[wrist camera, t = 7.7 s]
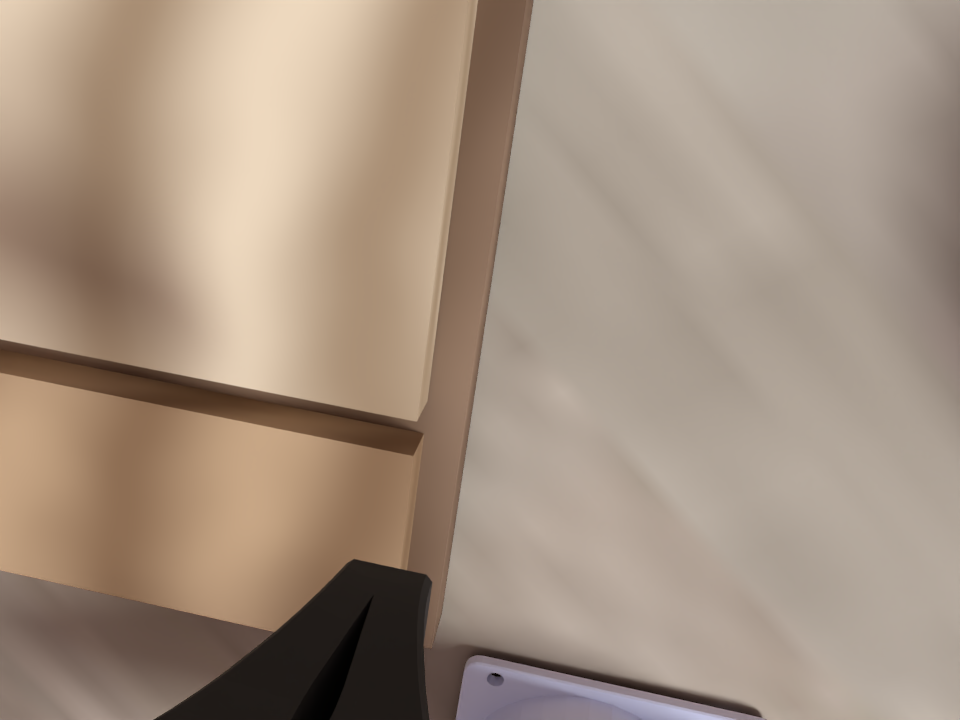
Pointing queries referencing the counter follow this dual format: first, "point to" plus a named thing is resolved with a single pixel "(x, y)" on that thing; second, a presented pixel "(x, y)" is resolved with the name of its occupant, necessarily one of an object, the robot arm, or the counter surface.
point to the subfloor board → (260, 437)
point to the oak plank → (234, 187)
